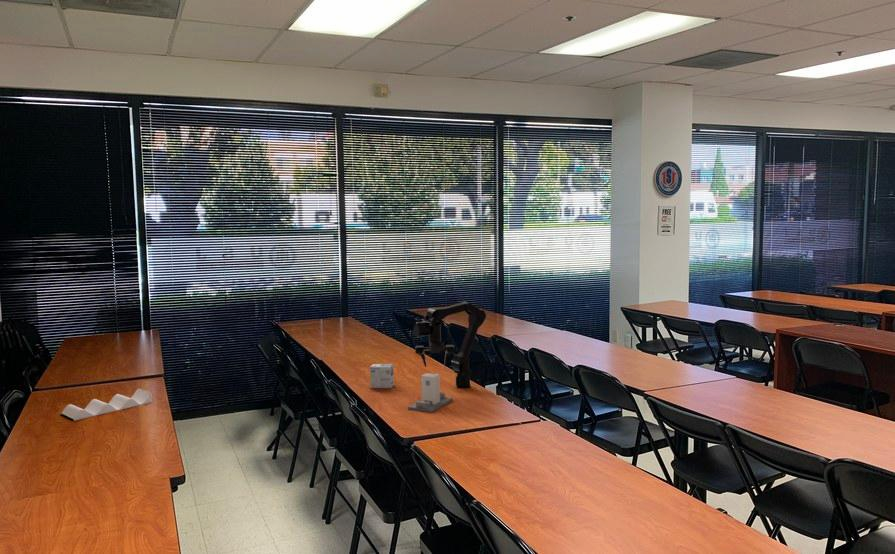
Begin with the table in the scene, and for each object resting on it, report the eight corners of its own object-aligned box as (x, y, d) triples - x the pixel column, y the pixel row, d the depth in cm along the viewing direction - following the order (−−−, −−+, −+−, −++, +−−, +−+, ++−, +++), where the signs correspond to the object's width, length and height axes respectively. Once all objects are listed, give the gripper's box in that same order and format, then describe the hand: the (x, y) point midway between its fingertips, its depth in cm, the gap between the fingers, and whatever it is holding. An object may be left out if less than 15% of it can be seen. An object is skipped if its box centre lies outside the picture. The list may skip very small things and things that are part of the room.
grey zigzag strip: (58, 416, 291) (57, 405, 291) (138, 398, 318) (138, 388, 317) (71, 422, 283) (70, 410, 282) (152, 403, 309) (151, 392, 309)
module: (427, 400, 303) (426, 373, 302) (439, 401, 300) (439, 374, 299) (421, 403, 298) (420, 375, 297) (434, 405, 295) (433, 377, 294)
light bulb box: (394, 384, 334) (393, 363, 333) (391, 388, 327) (391, 366, 326) (373, 384, 335) (372, 363, 334) (370, 388, 328) (369, 366, 327)
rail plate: (429, 397, 311) (429, 390, 310) (452, 400, 305) (452, 393, 305) (407, 409, 293) (407, 401, 293) (432, 412, 288) (432, 404, 287)
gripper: (415, 338, 309) (415, 371, 311) (455, 337, 310) (455, 370, 312) (415, 333, 320) (415, 365, 322) (453, 333, 321) (454, 364, 323)
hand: (435, 366), depth 319 cm, fingers open, 9 cm apart
